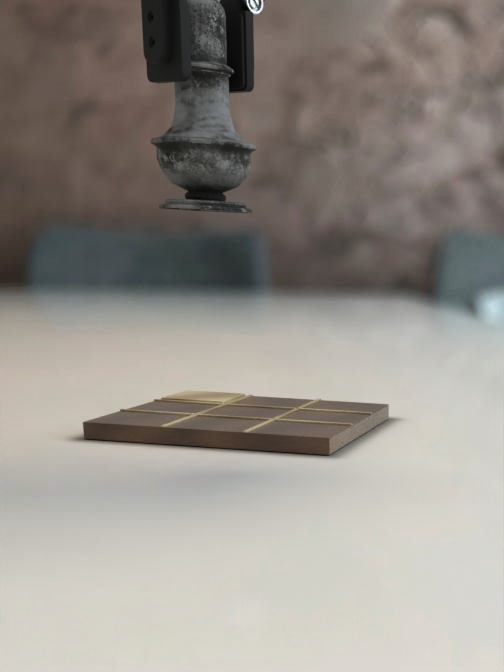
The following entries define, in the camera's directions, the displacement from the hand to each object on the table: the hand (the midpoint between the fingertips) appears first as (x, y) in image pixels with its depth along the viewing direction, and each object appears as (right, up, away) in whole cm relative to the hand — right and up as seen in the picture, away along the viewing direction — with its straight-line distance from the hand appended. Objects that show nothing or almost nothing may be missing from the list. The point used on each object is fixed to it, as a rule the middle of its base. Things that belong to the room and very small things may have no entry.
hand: (201, 83), depth 62 cm
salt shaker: (0, -6, +2) cm, 7 cm away
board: (-2, -15, +24) cm, 28 cm away
